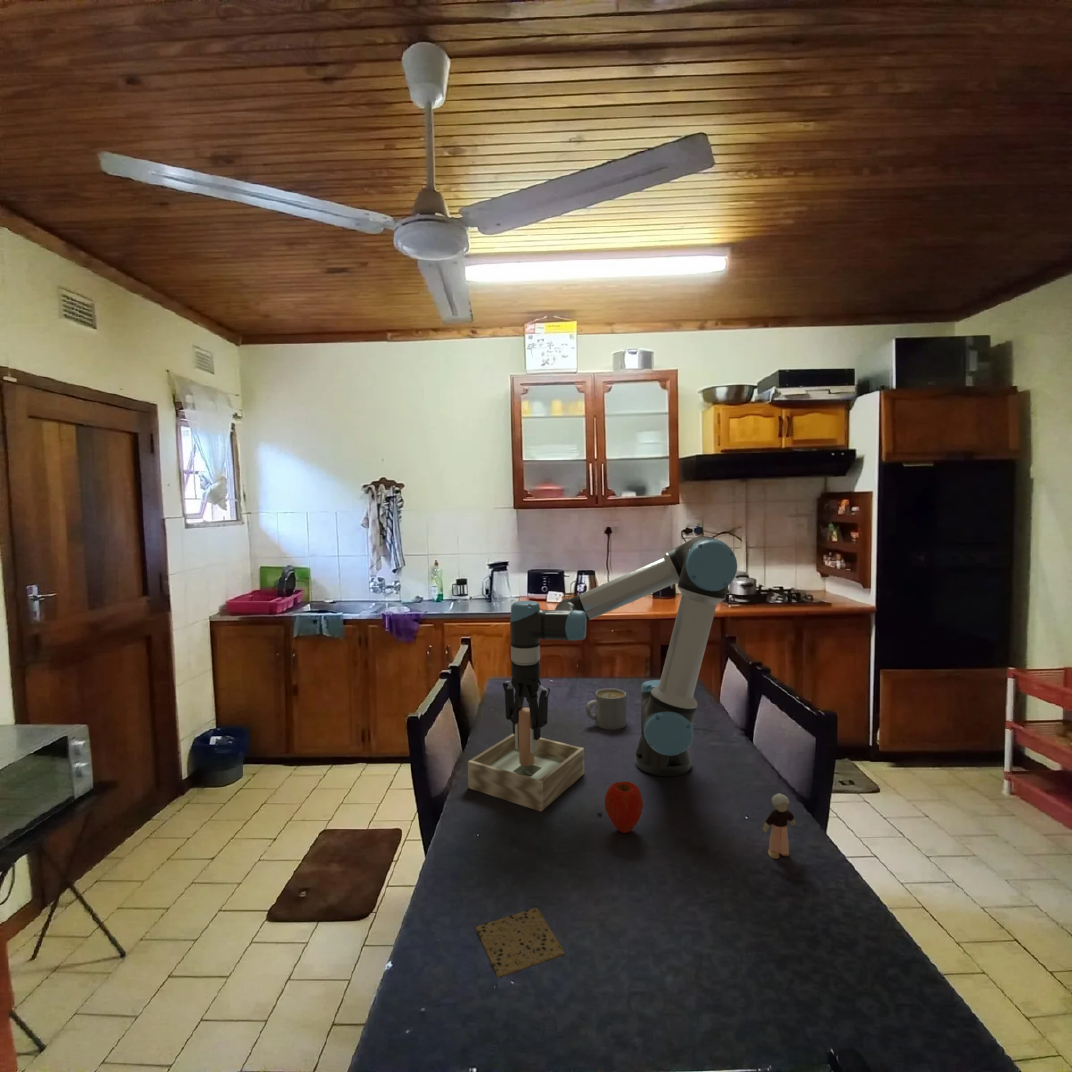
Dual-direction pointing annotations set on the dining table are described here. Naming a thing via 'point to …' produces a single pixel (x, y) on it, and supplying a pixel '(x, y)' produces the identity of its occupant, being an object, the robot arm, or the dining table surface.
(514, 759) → the box
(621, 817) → the apple
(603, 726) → the coffee mug
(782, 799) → the grandmother figurine
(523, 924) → the cookie
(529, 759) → the peg
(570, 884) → the dining table surface
